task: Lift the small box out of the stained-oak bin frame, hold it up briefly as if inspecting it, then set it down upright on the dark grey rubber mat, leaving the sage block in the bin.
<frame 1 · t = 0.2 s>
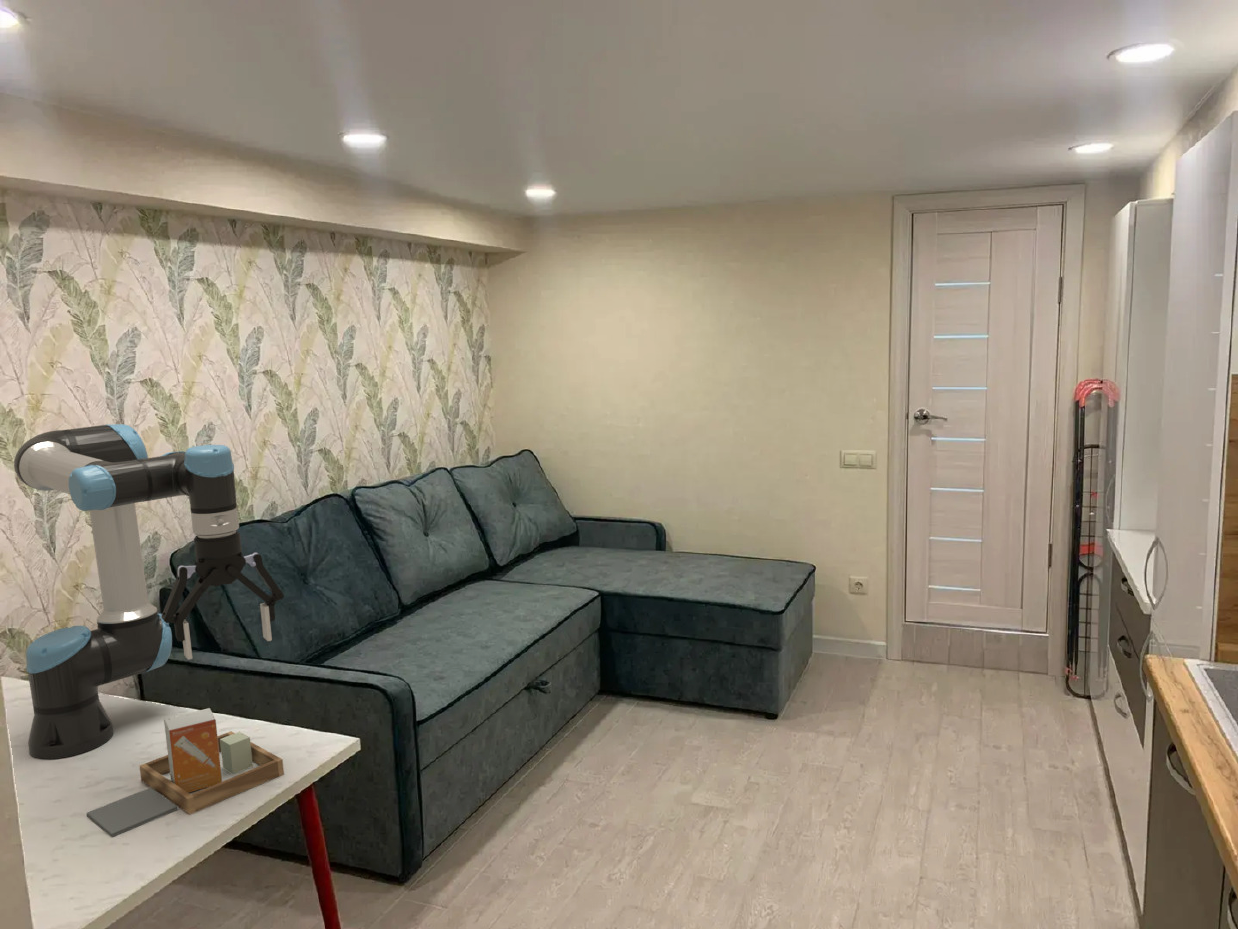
hand: (229, 648, 167), 27 cm above the table, fingers open, 13 cm apart
sage block: (237, 767, 179), resting in bin
bin: (212, 777, 176), on the table
mat: (132, 812, 164), on the table
small box: (197, 784, 173), resting in bin
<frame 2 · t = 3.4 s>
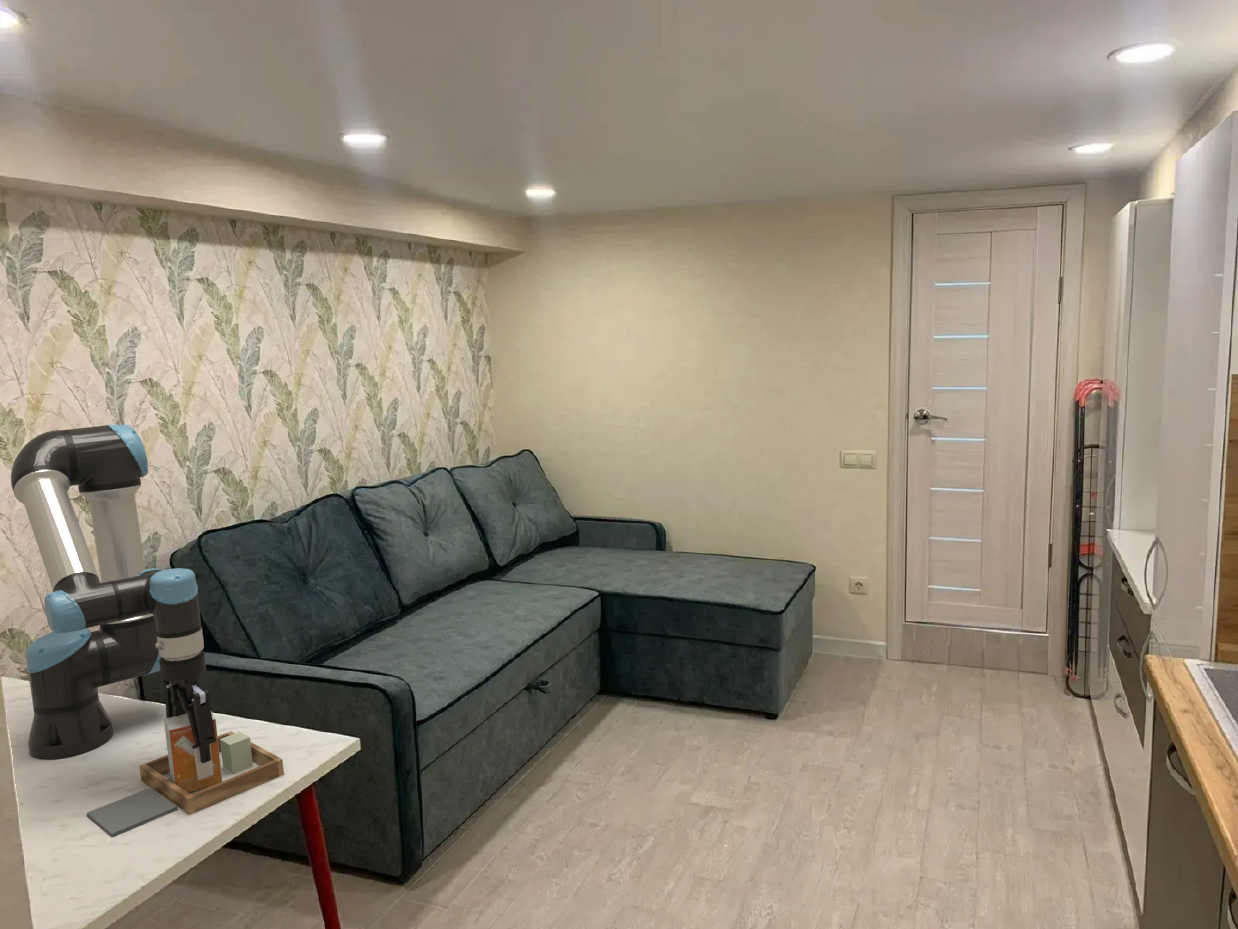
hand: (195, 770, 173), 3 cm above the table, fingers closed on small box, 7 cm apart
small box: (197, 784, 173), resting in bin, touching gripper
everything else where it was.
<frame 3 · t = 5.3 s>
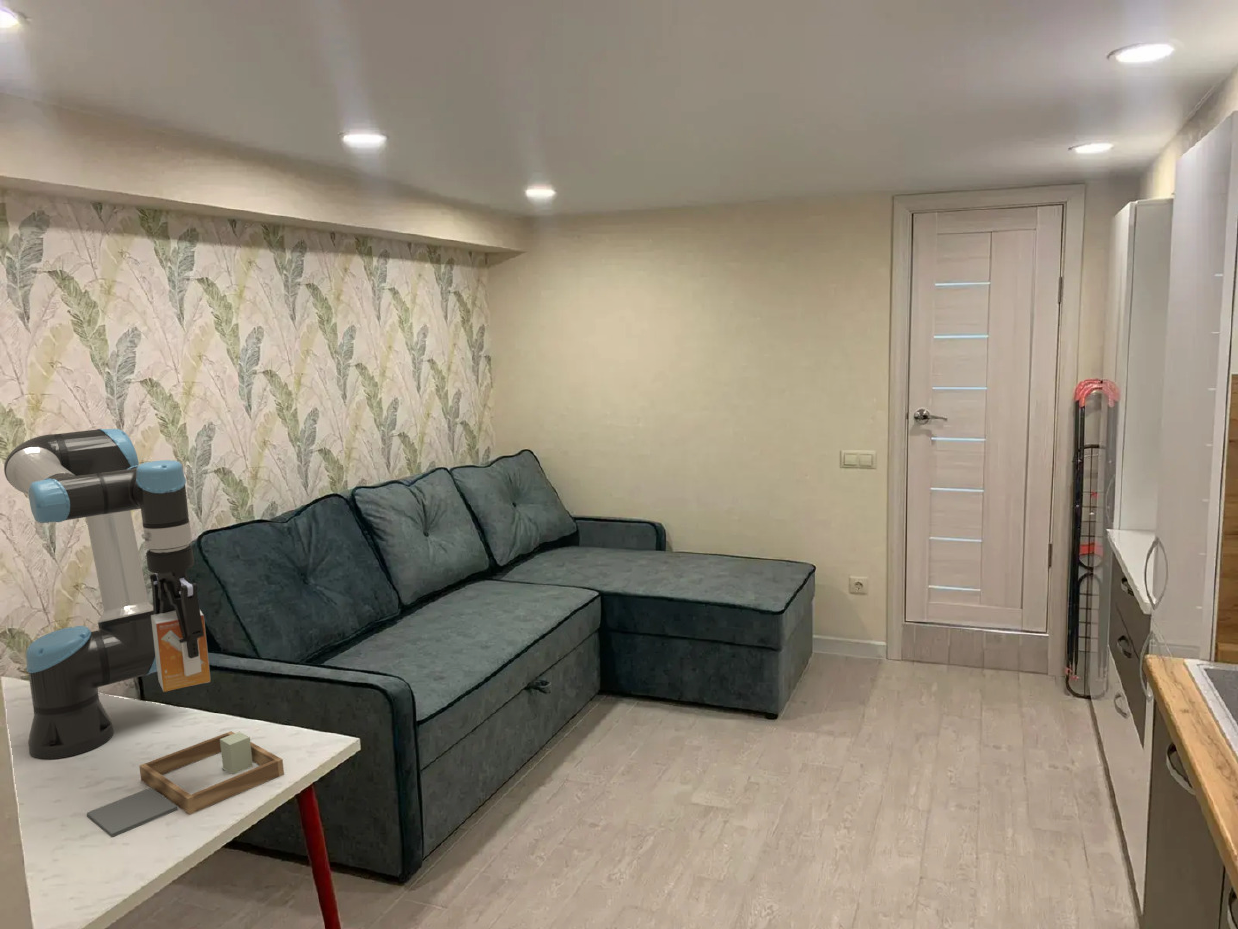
hand: (183, 668, 170), 23 cm above the table, fingers closed on small box, 7 cm apart
small box: (185, 683, 170), point 20 cm above the table, touching gripper
everything else where it was.
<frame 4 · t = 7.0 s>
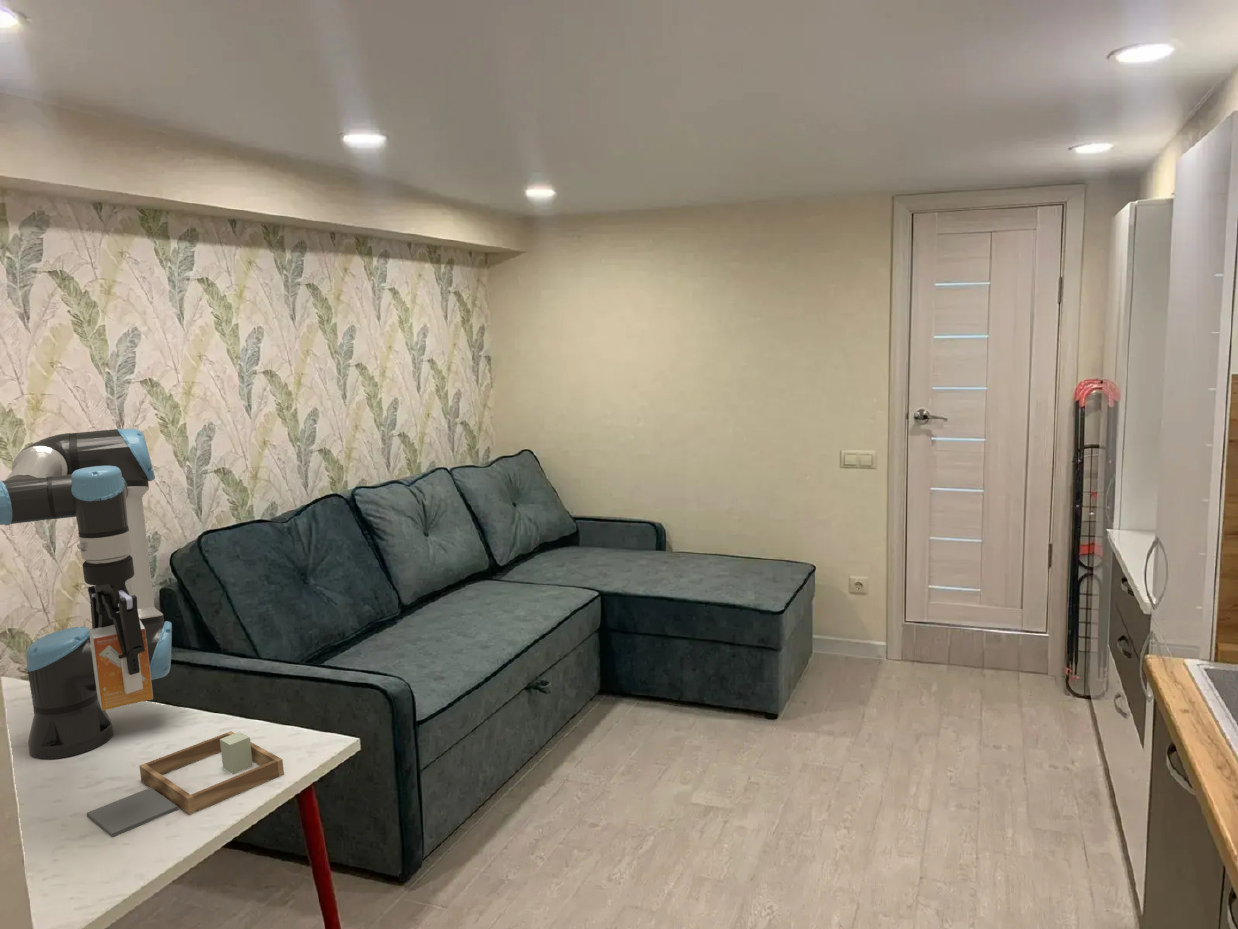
hand: (123, 685, 161), 23 cm above the table, fingers closed on small box, 7 cm apart
small box: (126, 701, 161), point 21 cm above the table, touching gripper
everything else where it was.
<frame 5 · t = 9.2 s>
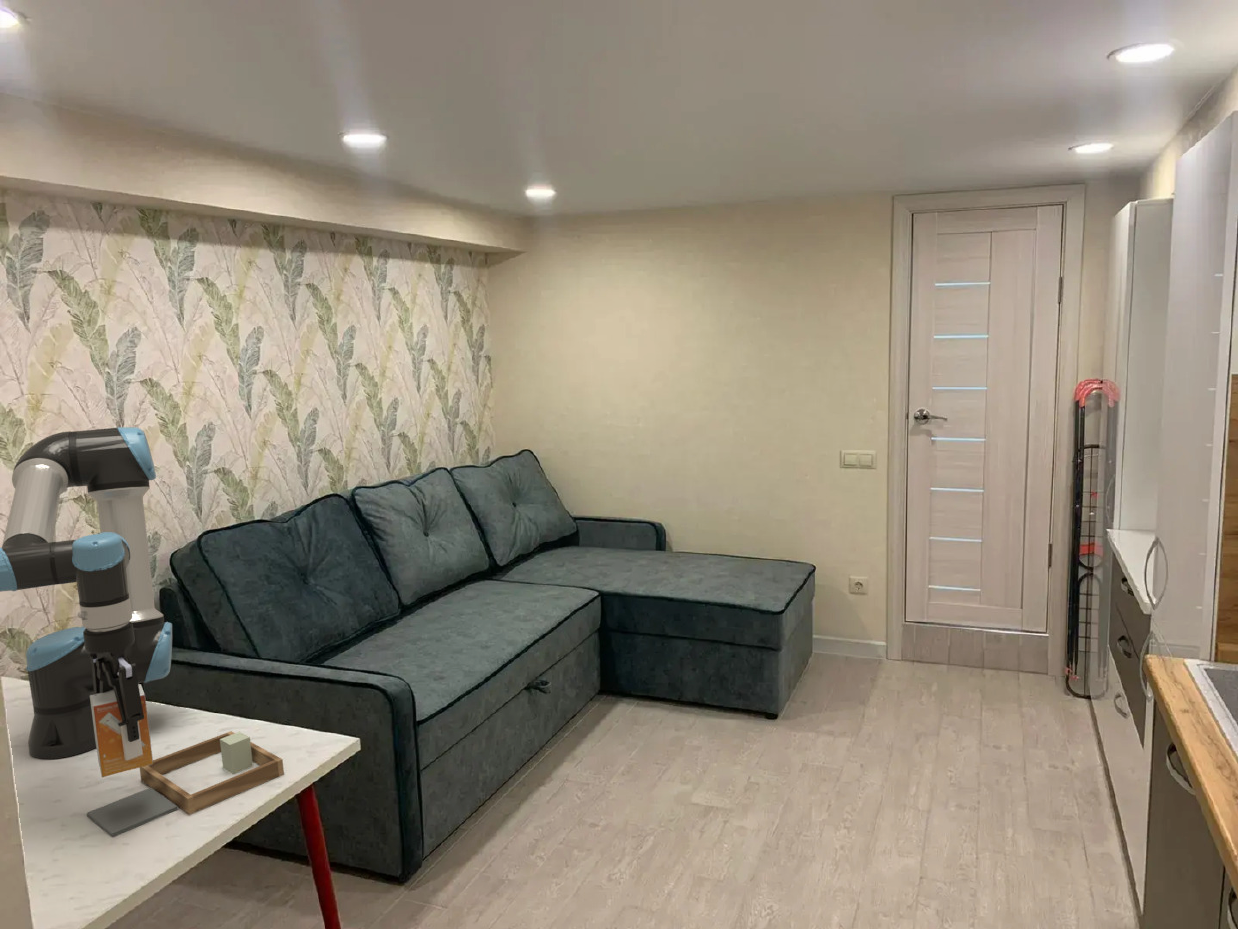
hand: (124, 750, 162), 12 cm above the table, fingers closed on small box, 7 cm apart
small box: (126, 766, 162), point 9 cm above the table, touching gripper
everything else where it was.
when the fingers open (5 cm above the table, at t = 11.0 s): small box drops 1 cm, resting on mat.
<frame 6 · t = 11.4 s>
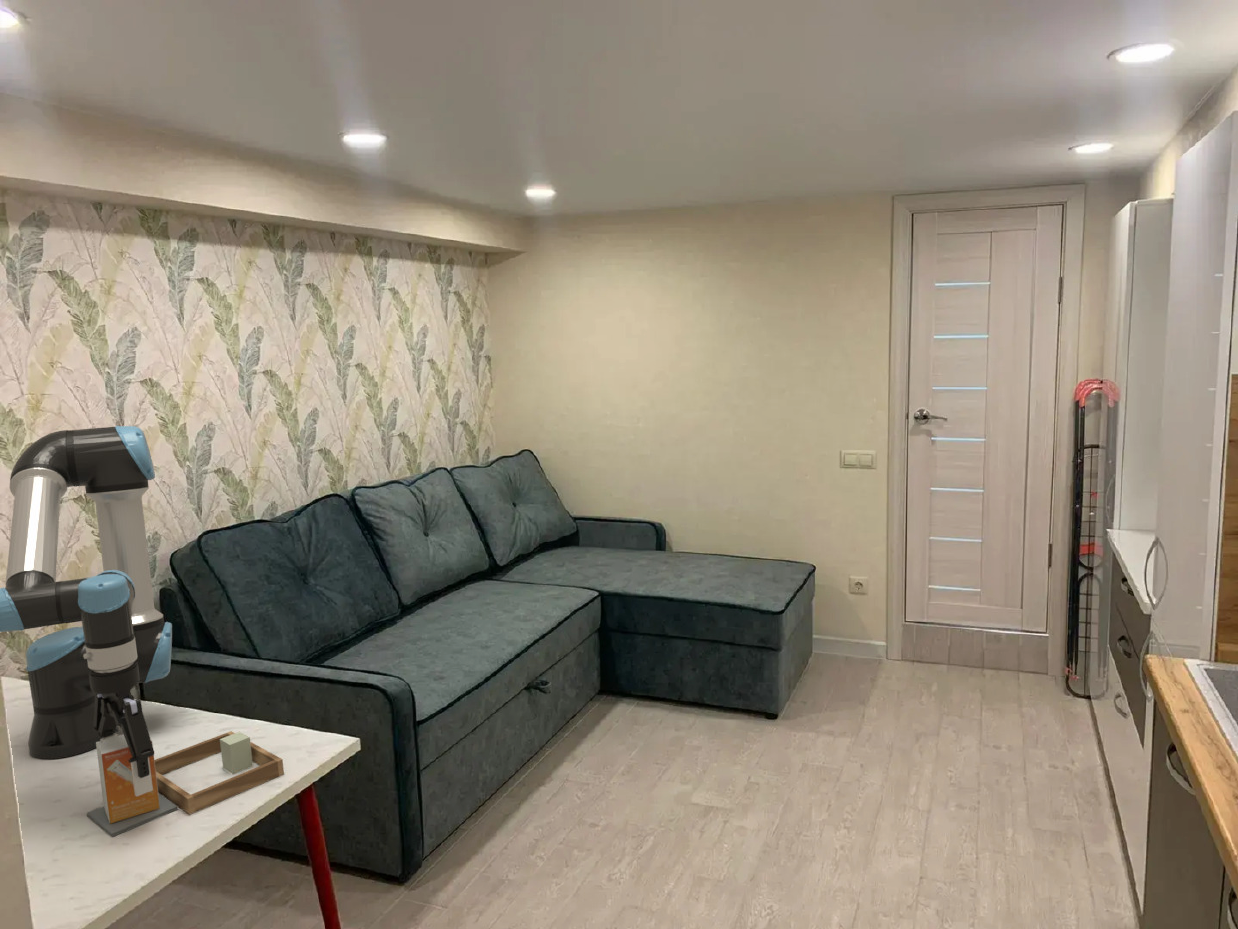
hand: (128, 781, 163), 6 cm above the table, fingers open, 12 cm apart
small box: (132, 810, 164), resting on mat
everything else where it was.
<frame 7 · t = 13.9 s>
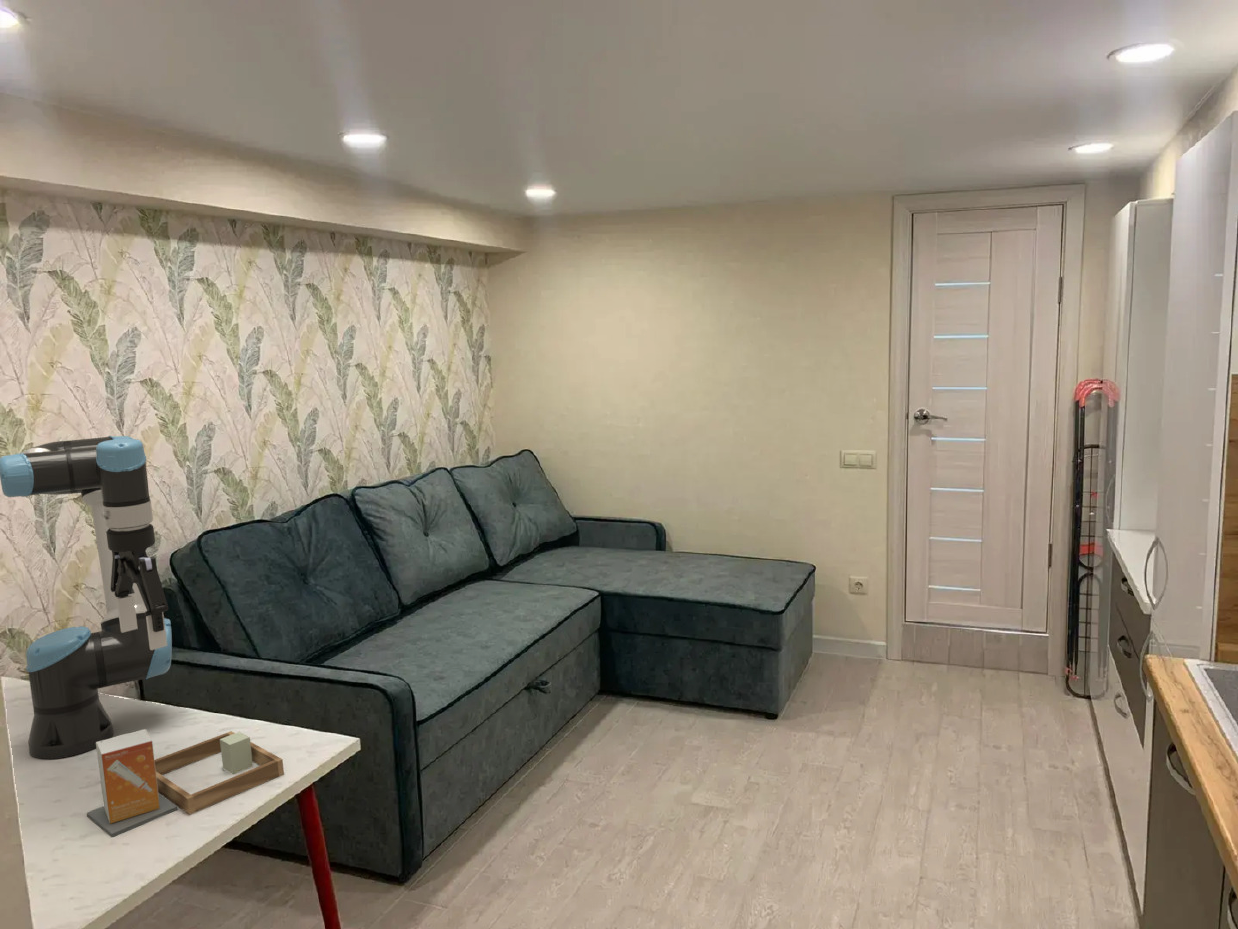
hand: (143, 639, 169), 28 cm above the table, fingers open, 13 cm apart
nothing on the table moved.
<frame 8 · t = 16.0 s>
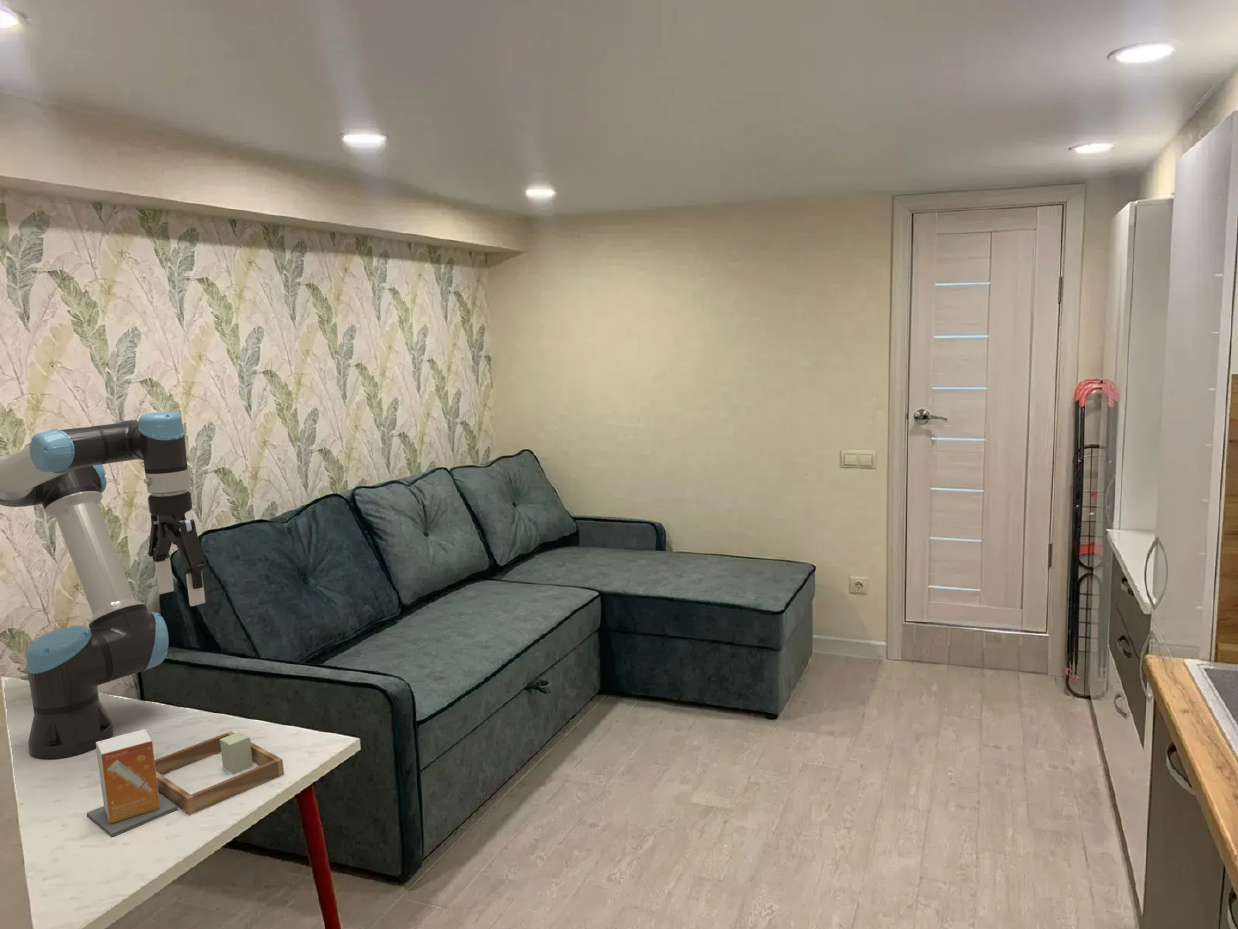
hand: (181, 598, 182), 32 cm above the table, fingers open, 13 cm apart
nothing on the table moved.
at the end: small box inside the target area on the mat (0.1 cm from its centre), point 0.4 cm above the mat's base; small box tilted 0°; sage block moved 0.1 cm from its start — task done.
